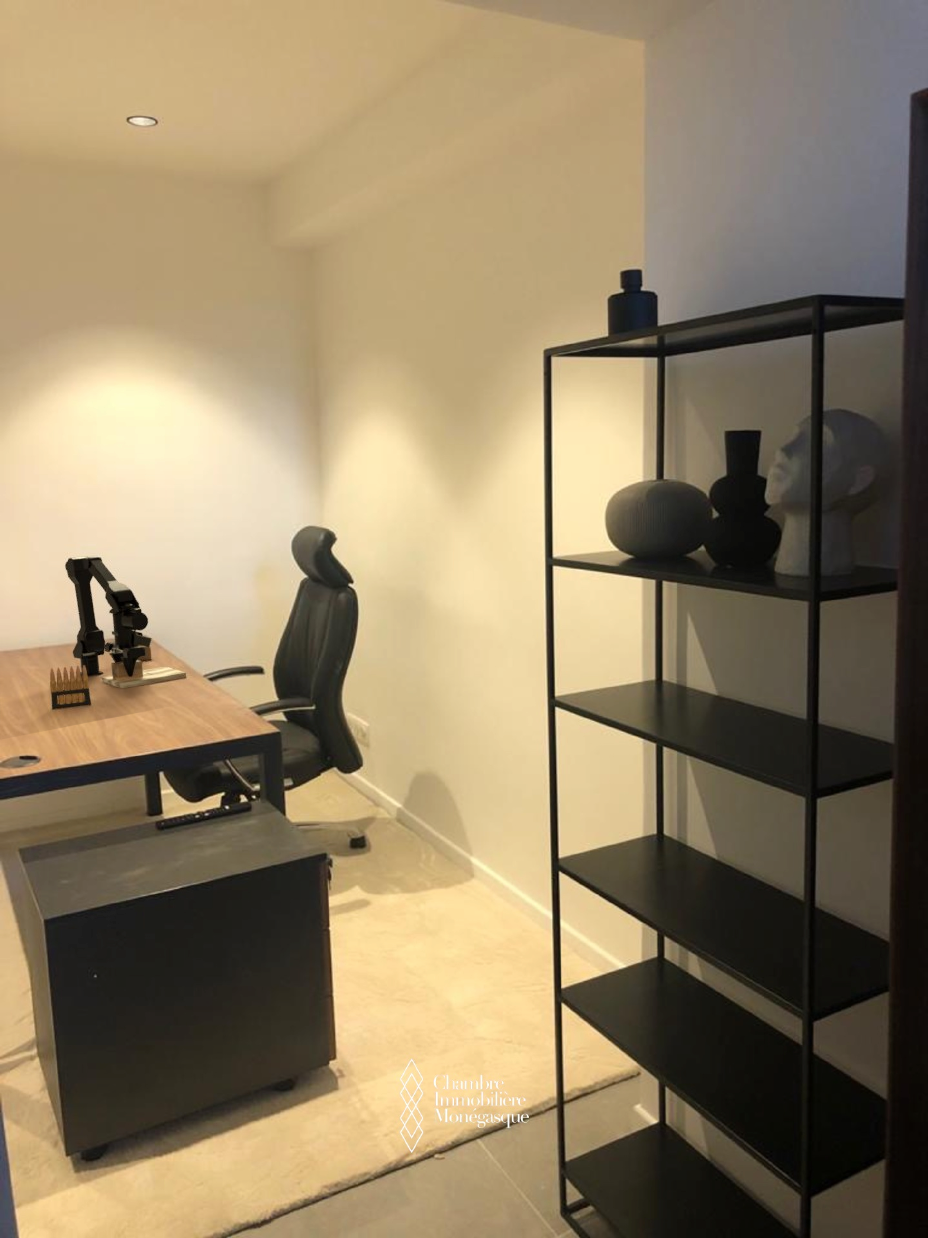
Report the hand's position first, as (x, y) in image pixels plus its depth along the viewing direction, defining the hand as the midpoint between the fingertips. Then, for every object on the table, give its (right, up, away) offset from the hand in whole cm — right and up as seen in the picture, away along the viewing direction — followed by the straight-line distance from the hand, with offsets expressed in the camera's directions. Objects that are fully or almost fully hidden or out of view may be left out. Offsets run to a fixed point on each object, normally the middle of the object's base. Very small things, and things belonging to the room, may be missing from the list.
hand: (127, 675), depth 328 cm
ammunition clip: (-6, -8, -31) cm, 32 cm away
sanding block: (0, -1, 0) cm, 1 cm away
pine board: (+4, -2, +4) cm, 6 cm away
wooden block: (-9, +3, +38) cm, 39 cm away
